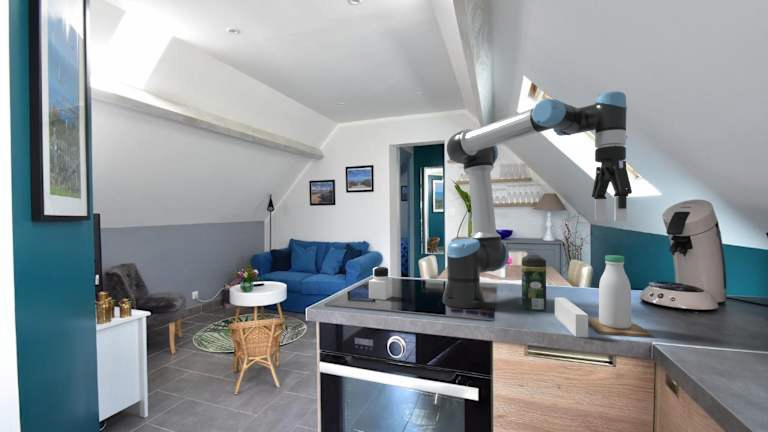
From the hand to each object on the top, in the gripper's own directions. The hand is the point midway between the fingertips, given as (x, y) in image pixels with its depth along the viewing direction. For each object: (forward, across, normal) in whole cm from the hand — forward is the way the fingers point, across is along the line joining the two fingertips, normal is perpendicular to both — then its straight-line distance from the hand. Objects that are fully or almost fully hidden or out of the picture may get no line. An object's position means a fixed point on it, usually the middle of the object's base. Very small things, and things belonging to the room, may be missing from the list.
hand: (609, 220), depth 101 cm
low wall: (+31, -1, +11) cm, 33 cm away
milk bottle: (+30, -1, -1) cm, 30 cm away
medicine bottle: (+32, +23, +73) cm, 83 cm away
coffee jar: (+31, +18, +17) cm, 40 cm away
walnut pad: (+31, -1, -1) cm, 31 cm away
